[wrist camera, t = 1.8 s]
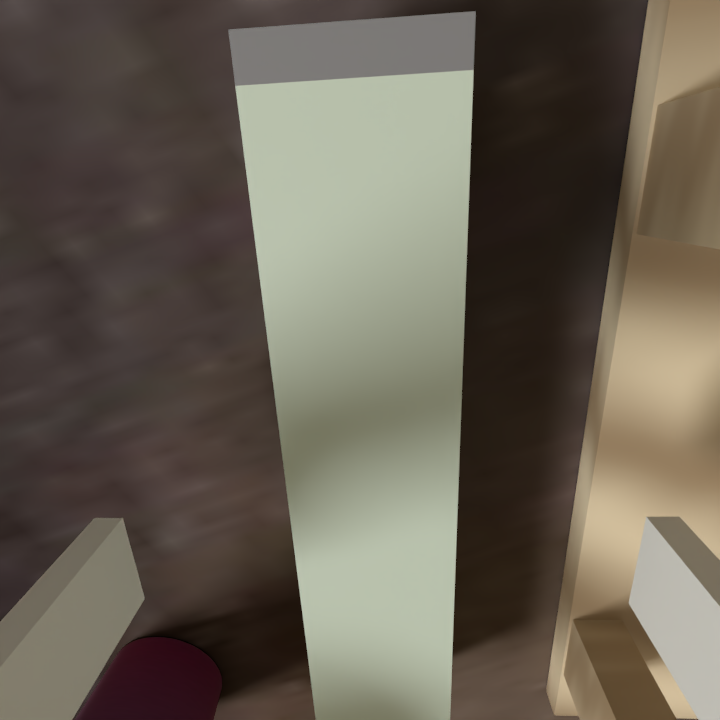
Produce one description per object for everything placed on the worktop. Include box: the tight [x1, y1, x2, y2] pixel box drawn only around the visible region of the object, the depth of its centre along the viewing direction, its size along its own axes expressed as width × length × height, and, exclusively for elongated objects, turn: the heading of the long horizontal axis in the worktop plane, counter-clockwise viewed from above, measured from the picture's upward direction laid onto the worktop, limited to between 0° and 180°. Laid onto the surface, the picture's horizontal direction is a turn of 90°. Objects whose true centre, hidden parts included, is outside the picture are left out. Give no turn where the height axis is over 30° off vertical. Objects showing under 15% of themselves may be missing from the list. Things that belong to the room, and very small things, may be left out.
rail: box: [228, 11, 476, 720], centre depth 13 cm, size 22×4×5 cm, turn 3°
